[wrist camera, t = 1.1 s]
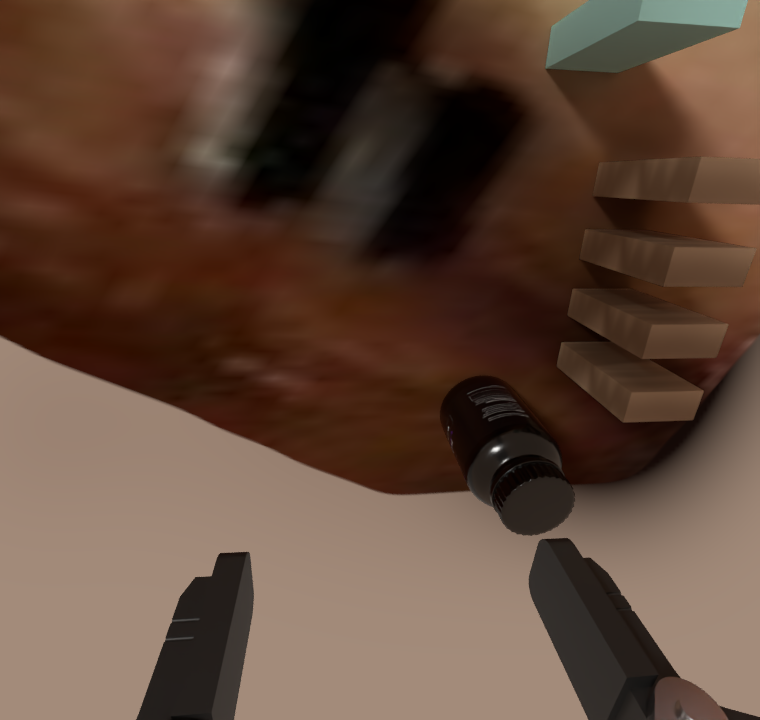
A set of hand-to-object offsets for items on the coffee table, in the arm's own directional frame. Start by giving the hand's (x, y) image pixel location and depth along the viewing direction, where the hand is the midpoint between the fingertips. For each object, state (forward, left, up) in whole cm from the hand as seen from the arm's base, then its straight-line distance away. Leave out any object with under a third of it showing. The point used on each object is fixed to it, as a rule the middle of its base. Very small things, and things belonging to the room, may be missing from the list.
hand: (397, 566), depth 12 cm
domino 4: (-1, +20, -23) cm, 30 cm away
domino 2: (-10, +20, -23) cm, 32 cm away
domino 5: (+3, +20, -23) cm, 30 cm away
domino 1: (-18, +15, -23) cm, 32 cm away
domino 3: (-6, +20, -23) cm, 30 cm away
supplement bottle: (+8, +11, -23) cm, 27 cm away
